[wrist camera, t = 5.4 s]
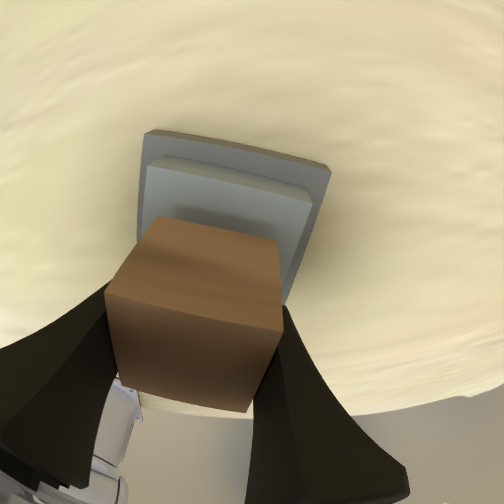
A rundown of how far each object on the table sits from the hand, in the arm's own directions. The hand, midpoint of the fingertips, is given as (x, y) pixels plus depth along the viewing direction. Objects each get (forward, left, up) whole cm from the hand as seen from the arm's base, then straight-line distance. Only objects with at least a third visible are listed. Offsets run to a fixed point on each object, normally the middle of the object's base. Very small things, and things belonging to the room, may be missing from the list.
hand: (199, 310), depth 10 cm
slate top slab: (0, 0, -6) cm, 6 cm away
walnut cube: (0, 0, -2) cm, 2 cm away
